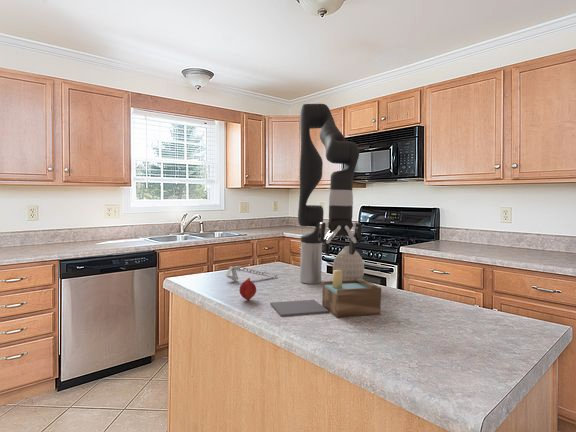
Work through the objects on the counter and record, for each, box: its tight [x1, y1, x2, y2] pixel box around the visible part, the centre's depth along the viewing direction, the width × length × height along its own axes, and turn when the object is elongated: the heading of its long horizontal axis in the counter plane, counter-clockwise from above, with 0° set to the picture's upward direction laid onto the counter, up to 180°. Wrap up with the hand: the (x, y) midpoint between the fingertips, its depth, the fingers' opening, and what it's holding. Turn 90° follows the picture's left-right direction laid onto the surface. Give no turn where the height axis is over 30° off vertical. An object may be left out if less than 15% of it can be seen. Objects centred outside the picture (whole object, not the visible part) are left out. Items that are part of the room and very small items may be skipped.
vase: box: [332, 245, 365, 280], centre depth 152 cm, size 13×13×17 cm
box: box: [321, 277, 382, 319], centre depth 121 cm, size 12×15×9 cm
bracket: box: [225, 265, 278, 282], centre depth 162 cm, size 3×21×10 cm, turn 114°
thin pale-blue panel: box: [324, 269, 370, 294], centre depth 120 cm, size 10×14×6 cm
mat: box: [269, 299, 330, 317], centre depth 122 cm, size 13×16×1 cm
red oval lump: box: [239, 277, 257, 301], centre depth 130 cm, size 6×6×8 cm
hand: (339, 254), depth 119 cm, fingers open, 8 cm apart
